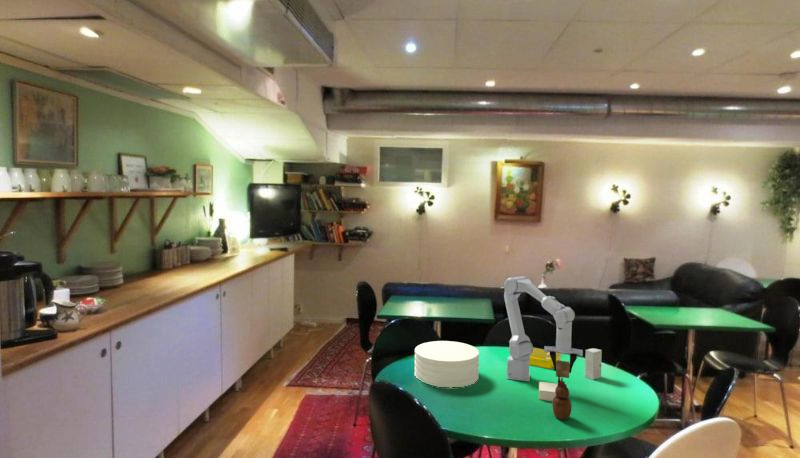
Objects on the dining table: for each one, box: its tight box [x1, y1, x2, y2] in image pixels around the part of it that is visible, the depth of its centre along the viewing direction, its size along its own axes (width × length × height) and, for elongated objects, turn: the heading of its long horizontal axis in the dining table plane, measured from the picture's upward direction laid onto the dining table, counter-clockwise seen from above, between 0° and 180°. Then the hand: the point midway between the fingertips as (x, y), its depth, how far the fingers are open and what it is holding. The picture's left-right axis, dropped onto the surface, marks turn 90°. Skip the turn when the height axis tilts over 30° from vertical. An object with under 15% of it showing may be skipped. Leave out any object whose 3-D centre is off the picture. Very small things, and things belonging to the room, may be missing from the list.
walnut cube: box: [555, 360, 570, 379], centre depth 190 cm, size 5×5×5 cm
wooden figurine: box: [551, 375, 572, 421], centre depth 168 cm, size 7×6×15 cm
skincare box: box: [584, 347, 603, 380], centre depth 207 cm, size 6×4×12 cm
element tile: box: [529, 347, 562, 370], centre depth 226 cm, size 15×15×5 cm
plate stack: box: [414, 340, 480, 389], centre depth 207 cm, size 28×28×12 cm
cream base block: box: [538, 381, 558, 402], centre depth 187 cm, size 9×9×4 cm
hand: (562, 371), depth 190 cm, fingers closed on walnut cube, 5 cm apart
